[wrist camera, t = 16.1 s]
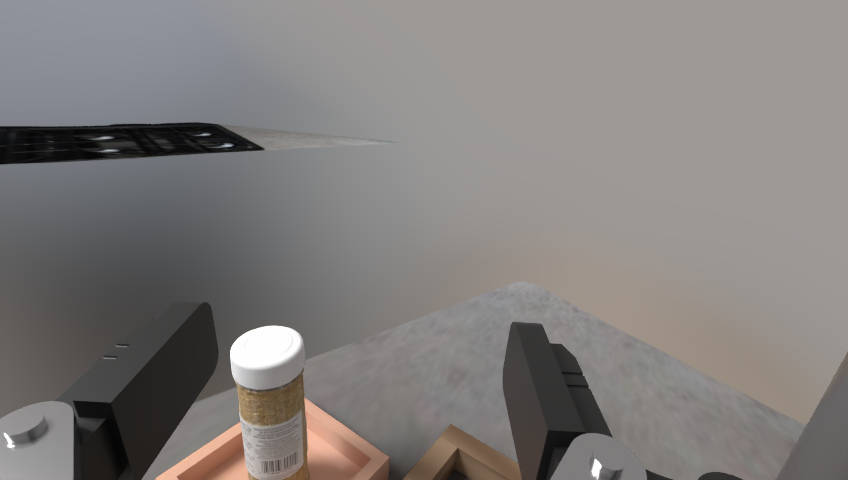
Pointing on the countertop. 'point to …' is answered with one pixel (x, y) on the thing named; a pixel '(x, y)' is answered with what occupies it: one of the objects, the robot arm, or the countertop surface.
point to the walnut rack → (463, 460)
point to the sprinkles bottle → (272, 402)
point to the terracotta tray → (327, 454)
